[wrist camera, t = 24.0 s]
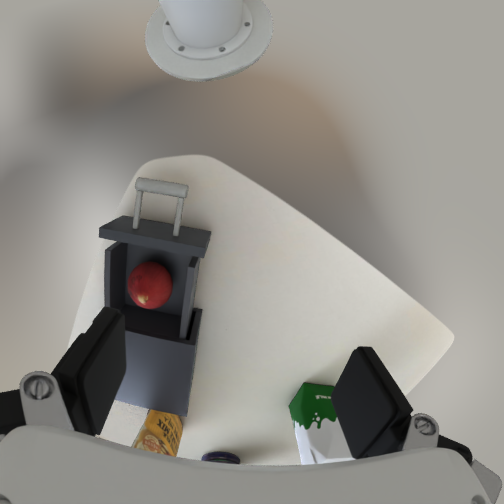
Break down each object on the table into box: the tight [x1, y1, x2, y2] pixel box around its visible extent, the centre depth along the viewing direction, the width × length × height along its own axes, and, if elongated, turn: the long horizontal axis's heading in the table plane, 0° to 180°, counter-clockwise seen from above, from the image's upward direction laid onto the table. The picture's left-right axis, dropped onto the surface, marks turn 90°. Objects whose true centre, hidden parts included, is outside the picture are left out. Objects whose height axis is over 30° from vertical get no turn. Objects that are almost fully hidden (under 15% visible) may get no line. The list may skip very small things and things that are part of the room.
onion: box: [128, 261, 173, 309], centre depth 33 cm, size 6×6×8 cm
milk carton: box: [289, 383, 356, 465], centre depth 39 cm, size 9×9×20 cm
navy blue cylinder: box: [202, 452, 240, 464], centre depth 47 cm, size 10×10×15 cm
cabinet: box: [93, 306, 202, 417], centre depth 38 cm, size 15×14×9 cm
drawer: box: [99, 177, 211, 340], centre depth 33 cm, size 20×13×7 cm, turn 168°
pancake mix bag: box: [131, 409, 183, 457], centre depth 34 cm, size 7×19×28 cm, turn 2°
